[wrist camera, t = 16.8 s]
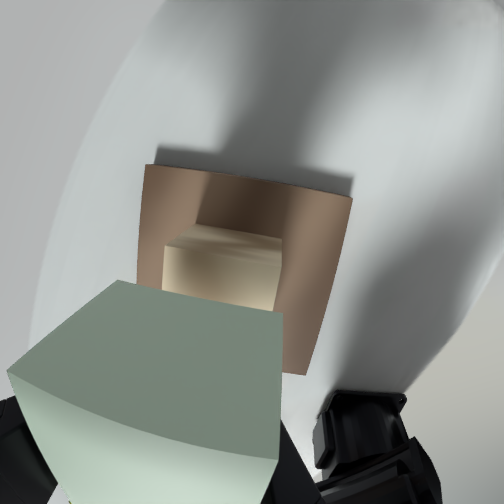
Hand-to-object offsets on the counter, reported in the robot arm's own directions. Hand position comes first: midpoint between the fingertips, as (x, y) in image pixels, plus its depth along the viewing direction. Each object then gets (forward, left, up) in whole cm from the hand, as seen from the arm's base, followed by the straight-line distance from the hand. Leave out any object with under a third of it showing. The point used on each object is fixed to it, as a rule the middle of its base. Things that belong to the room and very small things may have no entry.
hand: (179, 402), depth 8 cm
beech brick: (0, 0, -11) cm, 11 cm away
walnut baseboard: (0, 0, -12) cm, 12 cm away
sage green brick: (0, 0, -1) cm, 1 cm away
